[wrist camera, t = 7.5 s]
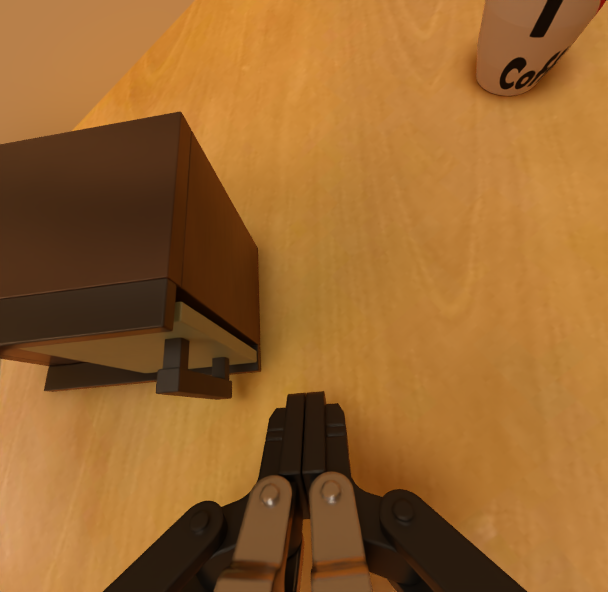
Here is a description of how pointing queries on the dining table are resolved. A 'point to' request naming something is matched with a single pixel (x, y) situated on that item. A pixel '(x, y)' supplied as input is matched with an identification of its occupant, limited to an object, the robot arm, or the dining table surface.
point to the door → (169, 355)
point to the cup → (527, 40)
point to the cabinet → (118, 245)
